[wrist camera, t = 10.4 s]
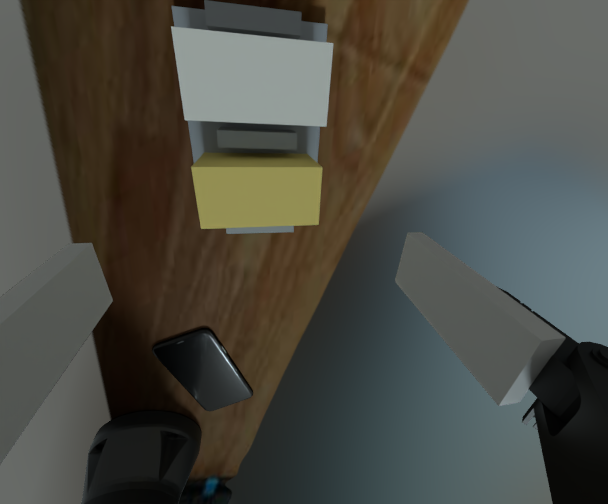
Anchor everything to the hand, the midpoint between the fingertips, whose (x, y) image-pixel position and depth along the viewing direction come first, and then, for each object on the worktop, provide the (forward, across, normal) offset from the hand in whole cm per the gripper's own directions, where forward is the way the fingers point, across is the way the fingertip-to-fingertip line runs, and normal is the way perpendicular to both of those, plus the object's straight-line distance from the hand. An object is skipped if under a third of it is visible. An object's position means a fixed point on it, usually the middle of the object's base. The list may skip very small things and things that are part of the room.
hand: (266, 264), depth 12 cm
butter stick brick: (+15, 0, 0) cm, 15 cm away
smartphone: (+17, -8, -27) cm, 33 cm away
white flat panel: (+15, 0, +7) cm, 17 cm away
